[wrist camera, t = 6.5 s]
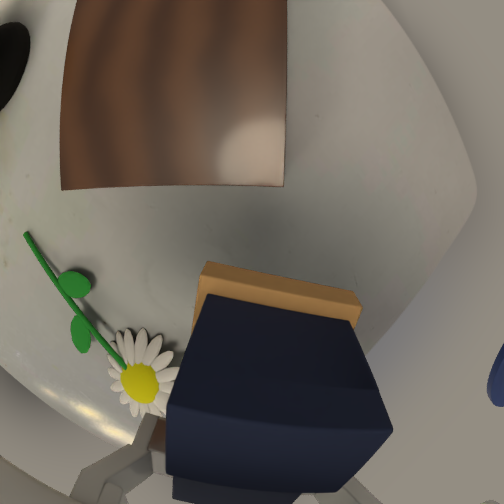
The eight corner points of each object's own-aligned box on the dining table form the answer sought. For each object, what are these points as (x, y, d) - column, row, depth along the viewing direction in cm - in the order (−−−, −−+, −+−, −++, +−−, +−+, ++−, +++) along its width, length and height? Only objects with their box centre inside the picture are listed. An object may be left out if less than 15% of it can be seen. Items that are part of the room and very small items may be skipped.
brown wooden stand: (282, -27, 20) (285, -60, 14) (279, 179, 27) (283, 187, 21) (112, -7, 20) (85, -29, 14) (96, 181, 28) (61, 190, 22)
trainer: (206, 259, 10) (147, 380, 4) (353, 290, 10) (419, 413, 4) (181, 454, 13) (161, 536, 8) (268, 469, 14) (267, 551, 8)
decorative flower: (22, 259, 34) (154, 416, 36) (0, 266, 29) (142, 438, 32) (61, 197, 31) (215, 380, 34) (36, 198, 27) (206, 404, 29)
